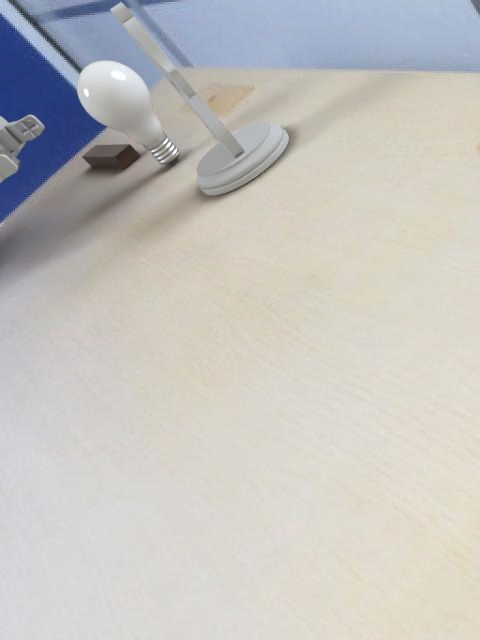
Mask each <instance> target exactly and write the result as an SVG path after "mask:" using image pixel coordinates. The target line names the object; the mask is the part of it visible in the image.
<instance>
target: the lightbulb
mask: <svg viewBox="0 0 480 640" xmlns="http://www.w3.org/2000/svg"><path fill="white" fill-rule="evenodd" d="M76 94H77V97H78V100H79V102H80V104H81V106H82V107H83V109H84V110H85V112H86V113H87V114H88V115H89V116H90V117H91V118H92V119H93V120H95V121H96V122H98V123H99V124H101V125H103V126H105V127H107V128H110V129H112V130H115V131H118V132H120V133H122V134H124V135H126V136H128V137H129V138H130V139H131V140H132V141H134V142H135V143H136V144H139V145H141V147H143V148H144V149H145V150H146V151H148V153H149V154H150V155H151V156H152V158H154V159H155V161H157V162H158V164H159V165H161V166H163V165H166V166H168V165H175V164H176V163H177V162H178V161H179V157H180V155H181V149H180V148H179V147H178V146H177V145H176V143H175V142H173V140H172V139H171V138H170V136H168V134H167V133H166V131H165V130H164V127H163V125H162V123H161V121H160V120H159V118H158V116H157V114H156V112H155V109H154V103H153V99H152V96H151V91H150V89H149V87H148V86H147V84H146V82H145V80H143V78H142V77H141V76H140V75H139V74H138V73H137V72H136V71H135V70H134V69H133V68H131V67H130V66H128V65H125V64H123V63H121V62H119V61H115V60H110V59H109V60H107V59H103V60H102V59H101V60H97V61H93V62H91V63H89V64H87V65H86V66H84V67H83V68H82V70H81V71H80V73H79V75H78V77H77V80H76Z"/></svg>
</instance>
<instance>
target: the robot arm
mask: <svg viewBox="0 0 480 640" xmlns="http://www.w3.org/2000/svg"><path fill="white" fill-rule="evenodd" d="M45 129H46V128H45V124H43V123H42V122H41V120H39V118H38V117H37V116H35V115H33V114H28V115H26V116H23V118H21V119H19V120H16V121H11V122H9V121H7V120H6V119H5V117H3V116H2V115H0V184H1V183H2V182H3V181H5V180H6V179H7V178H9V177H11V176H13V175H14V174H16V173H17V172H18V170H19V168H20V167H21V165H22V164H21V161H20V160H19V159H18V158H17V157H18V155H19V154H20V153H21V151H22V150H23V148H24V147H25V145H26V142H28V141H29V142H31V141H32V140H35V139H36V138H38V137H40V136H41V135H42V134H43V132H44V131H45Z"/></svg>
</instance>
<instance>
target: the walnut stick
mask: <svg viewBox="0 0 480 640" xmlns="http://www.w3.org/2000/svg"><path fill="white" fill-rule="evenodd" d="M140 157H141V154H140V153H139V152H138V151H137V150H136V149H135V148H134V147H133V146H132V145H131V143H122V144H121V143H117V144H115V143H113V144H95V145H93V146H92V148H90V149H89V150H88V151H87V152H85V153H84V154H83V155H82V156H81V158H82V159H83V160H84V161H85V162H86V163H87V164H88V165H89V166H90V167H91V168H93V169H94V168H95V169H96V168H97V169H103V168H104V169H127V168H128V167H129V166H131V165H132V164H133V163H134V162H135V161H137V160H138V159H139V158H140Z"/></svg>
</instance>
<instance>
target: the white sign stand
mask: <svg viewBox="0 0 480 640" xmlns="http://www.w3.org/2000/svg"><path fill="white" fill-rule="evenodd" d="M109 10H110V11H111V13H112V14H113V16H114V18H115V19H117V21H118V23H120V25H121V26H122V27H123V28H124V29H125V31H126V32H127V34H128V35H129V36H130V37H131V39H133V41H134V42H135V43H136V45H137V46H138V47H139V48H140V50H142V52H143V53H144V54H145V56H147V58H148V59H149V60H150V61H151V63H152V64H153V65H154V66H155V68H156V69H157V70H158V71H159V72H160V73H161V74H162V76H163V77H164V79H166V80H167V82H168V83H169V84H170V85H171V87H172V88H173V89H174V90H175V91H176V92H177V94H178V95H179V96H180V97H181V98H182V100H183V101H184V102H185V104H187V105H188V107H189V109H191V110H192V112H193V113H194V114H195V115H196V117H197V118H198V119H199V120H200V122H201V123H202V124H203V126H205V128H206V129H207V130H208V132H210V133H211V135H212V136H213V137H214V138H215V140H216V141H217V143H216V144H215V145H213V147H211V148H210V149H209V150H208V151H207V152H206V153H205V155H204V156H202V158H201V159H200V160H199V162H198V164H197V166H196V170H195V171H196V174H197V175H196V183H197V185H198V186H199V188H200V190H201V191H202V192H203V193H204V194H205V195H207V196H220V195H224V194H227V193H229V192H232V191H234V190H236V189H238V188H240V187H242V186H244V185H246V184H247V183H250V182H251V181H252V180H254V179H256V178H257V177H258V176H259V175H261V174H262V173H264V172H265V171H266V170H267V169H268V168H270V167H271V166H272V165H273V164H274V163H275V162H276V161H277V160H278V159H279V158H280V157H281V155H282V154H283V153H284V152H285V150H286V149H287V147H288V145H289V142H290V137H289V134H288V133H287V131H286V130H285V129H284V128H282V126H281V125H279V124H277V123H271V122H270V121H268V120H259V121H255V122H252V123H249V124H247V125H244V126H243V127H240V128H238V129H237V130H235V131H232V132H230V130H229V129H228V128H227V127H226V125H225V124H224V123H223V122H222V120H221V119H220V118H219V117H218V116H217V115H216V113H215V112H214V111H213V110H212V109H211V108H210V107H209V106H208V104H207V103H206V102H205V101H204V99H203V98H202V97H201V96H200V94H198V92H196V90H195V89H194V87H192V86H191V84H190V83H189V82H188V81H187V80H186V78H185V77H184V76H183V75H182V74H181V72H180V71H179V70H178V68H177V67H176V66H175V64H174V63H173V62H172V61H171V60H170V58H169V57H168V56H167V55H166V53H165V52H164V50H162V48H161V47H160V46H159V44H158V43H157V42H156V40H155V39H154V38H153V37H152V35H151V34H150V33H149V32H148V30H147V29H146V28H145V27H144V26H143V24H141V22H140V21H139V20H138V19H137V18H136V16H134V14H132V12H131V10H129V8H127V6H126V5H125V4H124V3H123V2H122V1H120V2H118V3H117V4H116V5H114V6H113V7H111V8H110V9H109Z"/></svg>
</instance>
